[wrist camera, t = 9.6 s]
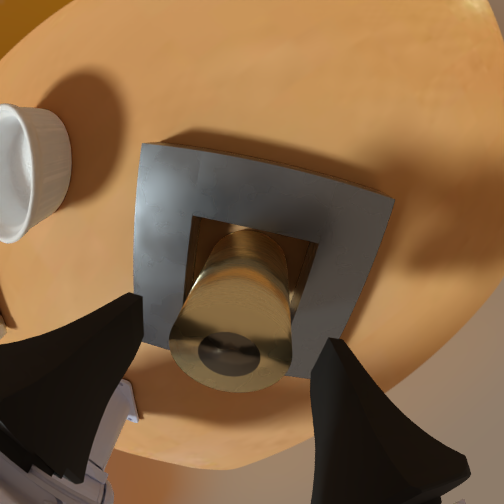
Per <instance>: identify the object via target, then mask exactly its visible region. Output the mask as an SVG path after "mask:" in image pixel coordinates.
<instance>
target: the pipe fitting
mask: <svg viewBox="0 0 504 504" xmlns="http://www.w3.org/2000/svg"><path fill="white" fill-rule="evenodd" d="M6 333H7V329H6V325H5V323H4V320H3V318H2V316H1V315H0V339H1V338H2V337H3V336H4V335H5V334H6Z"/></svg>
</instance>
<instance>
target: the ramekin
mask: <svg viewBox="0 0 504 504" xmlns="http://www.w3.org/2000/svg"><path fill="white" fill-rule="evenodd" d="M71 168H72V155H71V145H70V140H69V136H68V133H67V131H66V128H65V126H64V124H63V123H62V121H61V120H60V119H59V117H58V116H57V115H55V114H54V113H53V112H51V111H49V110H46V109H41V108H30V107H18V106H16V105H13V104H0V241H2V242H4V243H7V244H8V243H14V242H16V241H18V240H19V239H21V238H22V237H23V236H24V235H25V234H26V233H27V232H28V230H29V229H30V228H32V227H33V226H35V225H36V224H38V223H39V222H41V221H42V220H44V219H45V218H47V217H48V216H50V215H51V214H52V213H54V212H55V211H56V210H57V208H58V207H59V206H60V205H61V203H62V202H63V199H64V197H65V195H66V193H67V190H68V187H69V182H70V177H71Z"/></svg>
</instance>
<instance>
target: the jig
mask: <svg viewBox="0 0 504 504" xmlns="http://www.w3.org/2000/svg"><path fill="white" fill-rule="evenodd" d="M394 202H395V199H393V198H391V197H390V196H388V195H386V194H384V193H383V192H381V191H378V190H375V189H372V188H369V187H366V186H363V185H359V184H356V183H353V182H350V181H346V180H343V179H340V178H336V177H333V176H329V175H325V174H322V173H318V172H314V171H311V170H307V169H303V168H299V167H295V166H291V165H287V164H282V163H278V162H274V161H269V160H265V159H260V158H255V157H250V156H245V155H240V154H235V153H230V152H224V151H218V150H213V149H206V148H200V147H194V146H187V145H179V144H172V143H163V142H151V143H142V147H141V155H140V163H139V171H138V181H137V192H136V205H135V222H134V255H133V276H134V294H137V295H140V296H143V323H144V337H143V339H142V342H145V343H148V344H151V345H154V346H158V347H161V348H164V349H168V350H170V347H169V335H170V331H171V329H172V327H173V325H174V323H175V321H176V319H177V317H178V315H179V313H180V311H181V309H182V307H183V305H184V303H185V301H186V299H187V297H188V295H189V293H190V291H191V290H192V284H193V275H194V266H195V258H196V250H197V243H198V235H199V228H200V221H201V217H203V218H208V219H212V220H217V221H222V222H227V223H231V224H236V225H240V226H245V227H249V228H254V229H258V230H263V231H267V232H272V233H276V234H281V235H285V236H289V237H294V238H298V239H302V240H307V241H310V244H309V247H308V251H307V254H306V257H305V260H304V264H303V267H302V270H301V273H300V276H299V279H298V282H297V285H296V288H295V292H294V295H293V298H292V301H291V304H290V318H291V336H292V362H291V365H290V367H289V369H288V371H287V372H286V374H285V376H292V377H299V378H307V379H310V378H311V371H312V369H313V367H314V365H315V363H316V361H317V359H318V357H319V355H320V353H321V351H322V349H323V347H324V345H325V343H326V341H327V339H328V337H330V338H337V339H339V338H340V336H341V334H342V332H343V330H344V328H345V326H346V324H347V322H348V319H349V317H350V315H351V313H352V311H353V309H354V307H355V304H356V302H357V300H358V298H359V295H360V293H361V291H362V289H363V286H364V284H365V281H366V279H367V277H368V274H369V272H370V269H371V267H372V264H373V262H374V259H375V257H376V254H377V251H378V249H379V246H380V243H381V241H382V238H383V235H384V232H385V229H386V227H387V224H388V221H389V218H390V215H391V212H392V208H393V205H394Z"/></svg>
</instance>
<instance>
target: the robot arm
mask: <svg viewBox="0 0 504 504" xmlns="http://www.w3.org/2000/svg"><path fill="white" fill-rule="evenodd" d="M143 337H144V323H143V296H140V295H137V294H133V293H130V292H129V293H127V294H124V295H123V296H121V297H119V298H117V299H115V300H113V301H112V302H110V303H108V304H106V305H105V306H103V307H101V308H99V309H97V310H95V311H94V312H92V313H90V314H88V315H86V316H84V317H82V318H80V319H78V320H76V321H74V322H72V323H70V324H68V325H65V326H63V327H61V328H58V329H56V330H53V331H51V332H48V333H45V334H42V335H39V336H36V337H32V338H29V339H25V340H22V341H17V342H13V343H8V344H1V345H0V504H113V501H114V492H113V489H112V487H111V484H110V482H109V481H108V480H107V477H108V474H107V473H105V472H104V469H105V467H106V464H107V462H108V460H109V457H110V455H111V453H112V450H113V448H114V446H115V443H116V441H117V439H118V437H119V434H120V432H121V430H122V428H123V425H124V423H125V421H126V419H127V420H130V421H132V422H135V423H138V421H139V417H138V413H137V409H136V404H135V400H134V395H133V390H132V385H131V383H130V382H129V381H127V380H124V379H122V378H123V376H124V374H125V373H126V371H127V369H128V367H129V366H130V364H131V362H132V361H133V359H134V357H135V355H136V353H137V351H138V349H139V346H140V344H141V342H142V339H143ZM310 398H311V407H312V416H313V426H314V436H315V471H314V482H313V492H312V499H311V504H441V502H442V501H441V497H440V496H442V495H444V494H445V493H447V492H449V491H450V490H452V489H453V488H455V487H457V486H458V485H460V484H462V483H463V482H464V481H466V480H467V479H468V478H469V477H470V475H471V472H470V468H469V465H468V462H467V459H466V456H465V455H463V454H461V453H459V452H457V451H455V450H453V449H451V448H449V447H447V446H445V445H444V444H442V443H441V442H439V441H438V440H436V439H434V438H433V437H431V436H430V435H429V434H427V433H426V432H424V431H423V430H422V429H421V428H420V427H418V426H417V425H416V424H414V423H413V422H412V421H411V420H410V419H409V418H407V417H406V416H405V415H404V414H403V413H402V412H401V411H400V410H399V409H398V408H397V407H396V406H395V405H394V404H393V403H392V402H391V401H390V399H389V398H388V397H387V396H386V395H385V394H384V392H383V391H382V390H381V389H380V388H379V387H378V385H377V384H376V383H375V382H374V380H373V379H372V378H371V377H370V375H369V374H368V373H367V371H366V370H365V369H364V367H363V366H362V365H361V363H360V362H359V361H358V359H357V358H356V356H355V355H354V354H353V352H352V351H351V350H350V348H349V347H348V346H347V344H346V343H345V342H344V340H343V339H337V338H330V337H328V339H327V341H326V343H325V345H324V347H323V349H322V351H321V353H320V355H319V357H318V359H317V361H316V363H315V365H314V367H313V369H312V371H311V378H310ZM454 504H466V503H465V500H464V499H462V500H460V501H458V502H456V503H454Z"/></svg>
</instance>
